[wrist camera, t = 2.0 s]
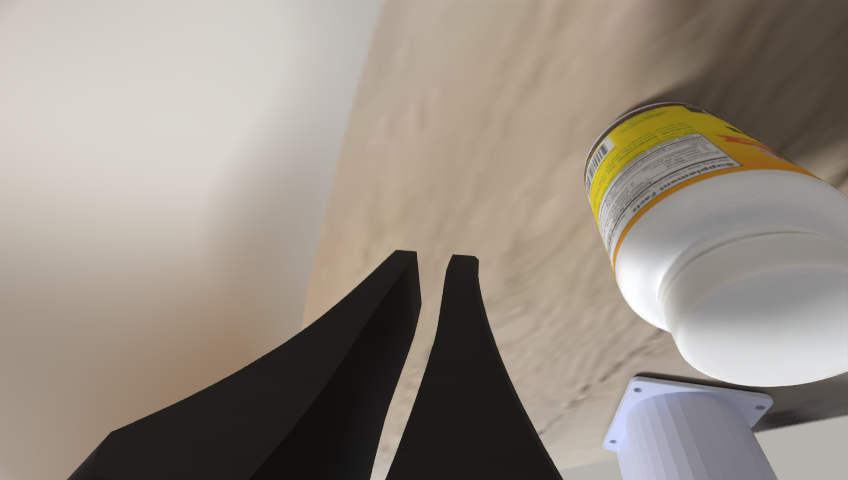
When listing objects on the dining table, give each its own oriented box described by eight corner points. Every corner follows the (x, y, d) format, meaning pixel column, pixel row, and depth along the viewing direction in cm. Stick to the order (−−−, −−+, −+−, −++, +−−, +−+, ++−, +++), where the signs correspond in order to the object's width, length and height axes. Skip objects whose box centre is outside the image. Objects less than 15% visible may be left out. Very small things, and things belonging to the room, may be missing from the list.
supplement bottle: (735, 183, 16) (970, 389, 8) (605, 230, 18) (675, 420, 10) (703, 68, 14) (978, 181, 5) (561, 139, 16) (606, 287, 8)
